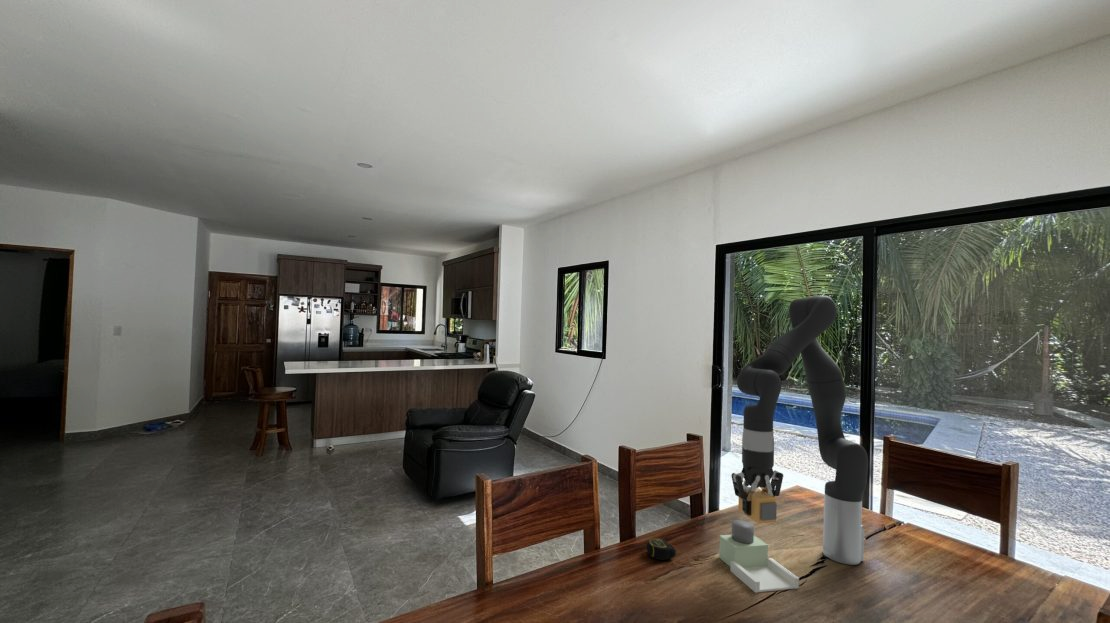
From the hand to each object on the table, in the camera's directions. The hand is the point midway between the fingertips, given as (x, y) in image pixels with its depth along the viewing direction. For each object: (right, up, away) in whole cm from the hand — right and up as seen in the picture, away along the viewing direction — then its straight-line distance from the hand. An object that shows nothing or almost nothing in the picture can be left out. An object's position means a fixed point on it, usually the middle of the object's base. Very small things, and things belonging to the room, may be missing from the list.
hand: (757, 513), depth 119 cm
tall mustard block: (0, -1, 0) cm, 1 cm away
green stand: (+1, -17, +3) cm, 17 cm away
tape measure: (-22, -16, +10) cm, 29 cm away
